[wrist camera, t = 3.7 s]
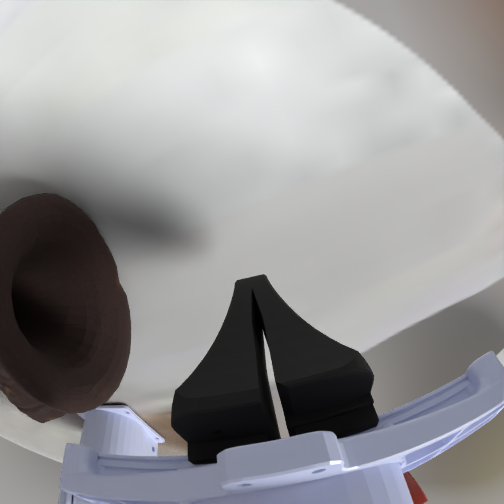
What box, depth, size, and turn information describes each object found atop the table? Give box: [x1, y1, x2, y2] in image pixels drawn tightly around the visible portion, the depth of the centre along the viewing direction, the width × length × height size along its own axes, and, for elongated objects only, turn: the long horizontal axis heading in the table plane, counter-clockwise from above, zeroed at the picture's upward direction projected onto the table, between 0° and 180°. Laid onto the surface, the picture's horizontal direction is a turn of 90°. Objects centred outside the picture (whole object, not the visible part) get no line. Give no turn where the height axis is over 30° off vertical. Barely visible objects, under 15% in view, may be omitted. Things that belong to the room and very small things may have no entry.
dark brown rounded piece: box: [0, 193, 131, 423], centre depth 14 cm, size 10×15×15 cm
